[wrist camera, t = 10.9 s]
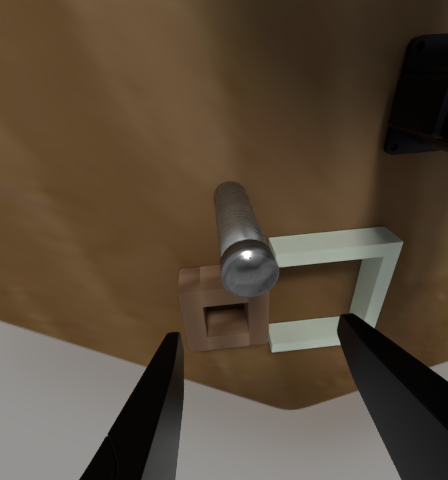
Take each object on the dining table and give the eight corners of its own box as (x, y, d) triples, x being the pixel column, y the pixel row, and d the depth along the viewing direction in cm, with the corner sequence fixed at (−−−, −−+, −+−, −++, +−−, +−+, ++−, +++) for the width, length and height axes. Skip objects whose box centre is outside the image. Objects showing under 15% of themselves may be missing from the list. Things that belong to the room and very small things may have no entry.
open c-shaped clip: (384, 226, 22) (403, 241, 20) (357, 322, 28) (370, 341, 26) (268, 237, 22) (275, 254, 20) (266, 332, 28) (271, 352, 26)
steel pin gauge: (247, 178, 19) (280, 248, 11) (248, 211, 20) (278, 294, 13) (210, 181, 19) (219, 255, 11) (213, 215, 20) (223, 300, 13)
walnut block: (262, 260, 23) (270, 283, 20) (261, 317, 27) (268, 343, 24) (179, 268, 23) (177, 293, 20) (190, 325, 26) (189, 352, 24)
